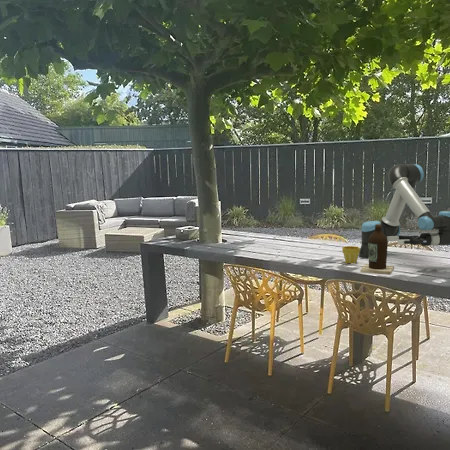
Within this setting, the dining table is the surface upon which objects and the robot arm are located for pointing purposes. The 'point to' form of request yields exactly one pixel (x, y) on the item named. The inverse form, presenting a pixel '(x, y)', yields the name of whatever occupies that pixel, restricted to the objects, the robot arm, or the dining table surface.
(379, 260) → the olive oil
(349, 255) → the plant pot
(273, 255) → the dining table surface
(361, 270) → the ash board
